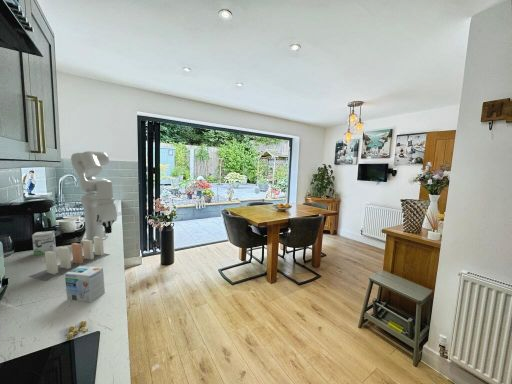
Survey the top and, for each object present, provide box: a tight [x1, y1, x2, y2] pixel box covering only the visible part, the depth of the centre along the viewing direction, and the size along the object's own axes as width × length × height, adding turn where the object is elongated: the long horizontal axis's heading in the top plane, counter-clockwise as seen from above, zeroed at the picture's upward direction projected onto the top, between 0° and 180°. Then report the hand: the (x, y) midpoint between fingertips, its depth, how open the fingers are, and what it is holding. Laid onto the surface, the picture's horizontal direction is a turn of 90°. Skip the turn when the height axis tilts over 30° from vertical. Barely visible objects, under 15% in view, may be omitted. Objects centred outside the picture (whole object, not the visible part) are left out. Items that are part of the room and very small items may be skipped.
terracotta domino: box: [70, 242, 84, 264], centre depth 111 cm, size 2×5×10 cm, turn 72°
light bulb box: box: [64, 265, 106, 304], centre depth 84 cm, size 11×7×11 cm, turn 82°
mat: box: [27, 251, 111, 282], centre depth 110 cm, size 30×12×1 cm, turn 162°
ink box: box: [31, 230, 57, 256], centre depth 124 cm, size 9×5×12 cm, turn 120°
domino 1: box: [44, 251, 58, 274], centre depth 101 cm, size 2×5×10 cm, turn 72°
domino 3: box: [82, 239, 94, 259], centre depth 116 cm, size 2×5×10 cm, turn 72°
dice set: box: [66, 319, 89, 341], centre depth 67 cm, size 5×5×2 cm
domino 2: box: [58, 246, 72, 269], centre depth 106 cm, size 2×5×10 cm, turn 72°
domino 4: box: [93, 236, 105, 255], centre depth 121 cm, size 2×5×10 cm, turn 72°
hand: (108, 232), depth 126 cm, fingers closed
